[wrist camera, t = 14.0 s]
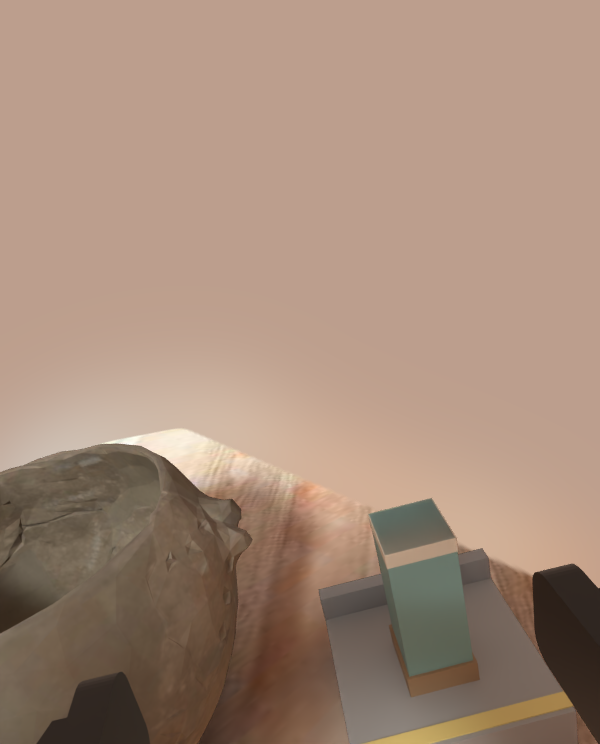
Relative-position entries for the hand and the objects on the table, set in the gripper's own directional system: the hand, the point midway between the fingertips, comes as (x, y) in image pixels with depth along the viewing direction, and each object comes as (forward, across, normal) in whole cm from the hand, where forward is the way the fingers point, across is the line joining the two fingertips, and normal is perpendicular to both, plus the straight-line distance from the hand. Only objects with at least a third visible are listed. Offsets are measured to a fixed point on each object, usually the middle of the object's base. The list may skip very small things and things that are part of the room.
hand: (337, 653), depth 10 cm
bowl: (+24, +18, +29) cm, 42 cm away
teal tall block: (+20, -7, +25) cm, 33 cm away
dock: (+20, -7, +28) cm, 35 cm away
